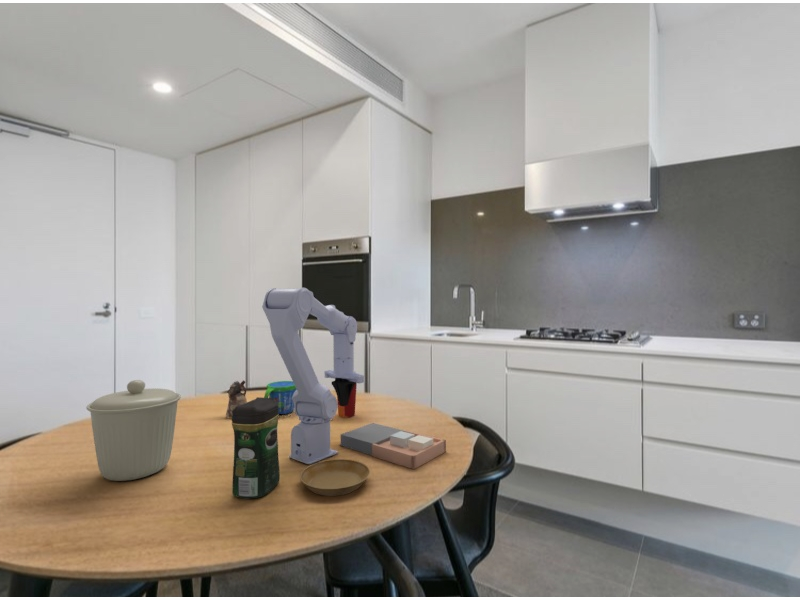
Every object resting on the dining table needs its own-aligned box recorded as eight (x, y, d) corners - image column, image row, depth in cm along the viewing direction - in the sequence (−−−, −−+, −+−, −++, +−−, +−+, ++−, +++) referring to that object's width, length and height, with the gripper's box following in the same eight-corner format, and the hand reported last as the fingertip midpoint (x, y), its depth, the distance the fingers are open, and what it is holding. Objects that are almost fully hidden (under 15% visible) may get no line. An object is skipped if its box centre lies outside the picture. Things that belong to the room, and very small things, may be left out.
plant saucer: (384, 484, 85) (384, 472, 85) (325, 509, 75) (325, 495, 75) (343, 465, 96) (343, 454, 96) (287, 484, 86) (287, 472, 86)
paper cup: (359, 412, 141) (359, 372, 141) (355, 418, 134) (355, 376, 134) (338, 412, 142) (337, 372, 142) (332, 418, 134) (332, 376, 134)
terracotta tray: (413, 469, 93) (413, 456, 93) (372, 456, 101) (372, 444, 101) (445, 451, 104) (445, 439, 104) (406, 441, 112) (405, 430, 112)
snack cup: (273, 420, 133) (273, 389, 133) (254, 415, 139) (254, 385, 139) (309, 409, 146) (309, 381, 146) (290, 405, 152) (290, 378, 152)
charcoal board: (373, 455, 101) (373, 443, 101) (340, 445, 108) (340, 434, 109) (404, 441, 111) (404, 430, 111) (372, 433, 119) (372, 422, 119)
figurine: (227, 413, 141) (227, 379, 141) (248, 412, 143) (248, 378, 143) (224, 419, 134) (224, 383, 134) (247, 417, 136) (247, 382, 136)
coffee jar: (252, 478, 89) (251, 393, 89) (285, 480, 87) (284, 395, 87) (224, 499, 79) (224, 404, 79) (260, 502, 77) (260, 406, 78)
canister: (102, 462, 97) (102, 376, 98) (186, 452, 104) (186, 371, 104) (71, 496, 81) (71, 391, 81) (173, 481, 87) (173, 384, 87)
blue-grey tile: (404, 447, 100) (404, 439, 100) (390, 444, 103) (390, 435, 103) (414, 442, 104) (414, 434, 104) (400, 439, 107) (400, 431, 107)
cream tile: (423, 452, 97) (423, 443, 97) (408, 448, 100) (408, 439, 100) (433, 447, 101) (433, 438, 101) (418, 443, 103) (418, 435, 103)
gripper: (371, 358, 113) (371, 406, 113) (337, 354, 122) (337, 398, 122) (353, 361, 108) (353, 411, 108) (318, 356, 117) (319, 403, 117)
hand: (343, 405), depth 114 cm, fingers closed
